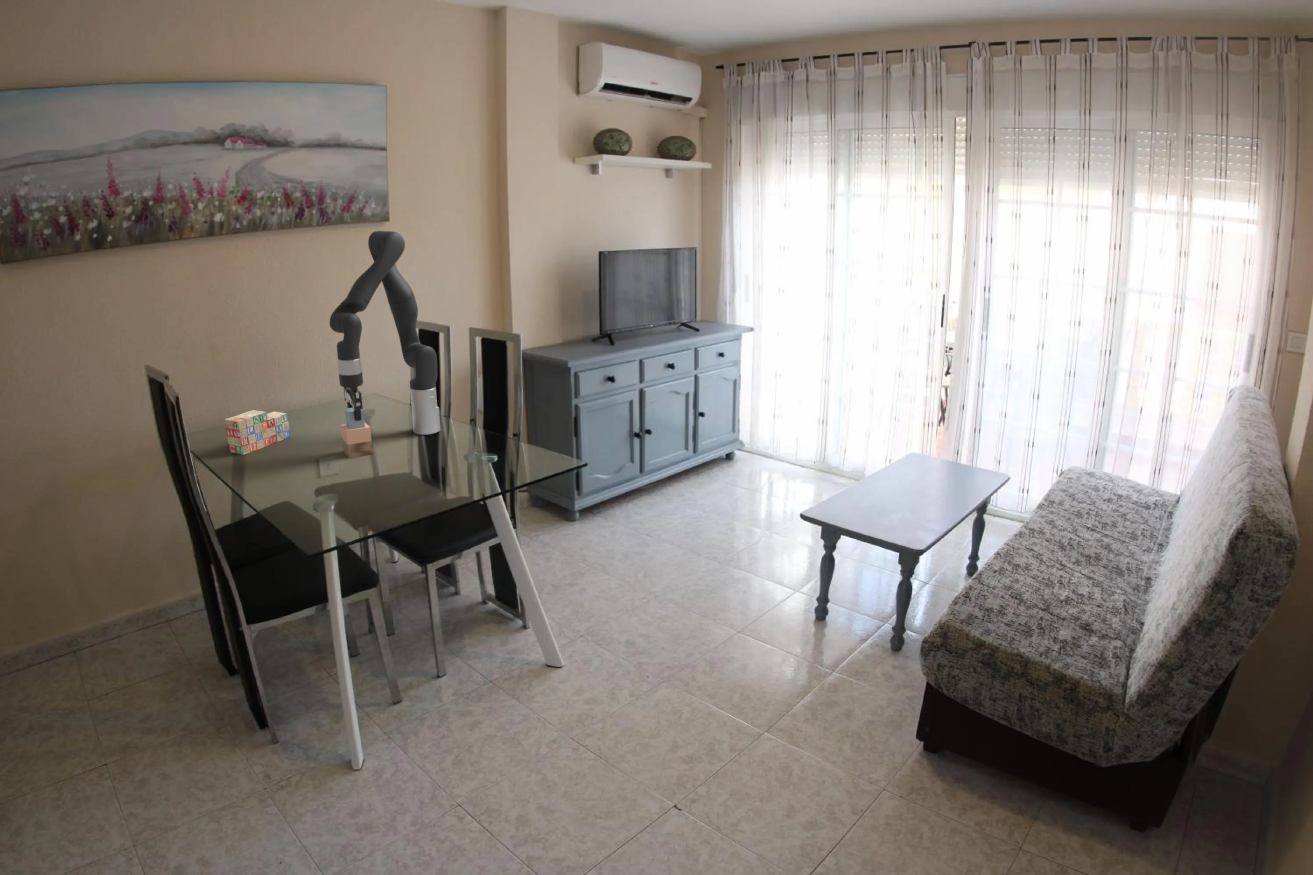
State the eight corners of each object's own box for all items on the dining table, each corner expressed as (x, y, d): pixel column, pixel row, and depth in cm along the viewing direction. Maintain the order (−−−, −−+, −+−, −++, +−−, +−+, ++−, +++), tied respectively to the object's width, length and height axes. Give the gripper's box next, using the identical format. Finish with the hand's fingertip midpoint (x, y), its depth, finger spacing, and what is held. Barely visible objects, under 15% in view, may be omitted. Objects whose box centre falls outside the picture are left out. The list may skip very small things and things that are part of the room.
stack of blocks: (277, 435, 297) (273, 403, 293) (290, 437, 295) (286, 405, 291) (229, 452, 278) (224, 418, 274) (243, 455, 276) (238, 421, 272)
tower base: (366, 448, 286) (365, 434, 284) (373, 454, 280) (372, 440, 278) (343, 451, 282) (342, 438, 280) (349, 458, 275) (348, 444, 274)
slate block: (361, 423, 280) (359, 406, 278) (365, 427, 276) (363, 410, 274) (346, 425, 278) (344, 408, 276) (349, 429, 274) (348, 412, 272)
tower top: (365, 434, 284) (363, 421, 283) (371, 440, 278) (370, 427, 276) (341, 438, 280) (340, 424, 278) (347, 444, 274) (346, 430, 272)
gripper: (367, 374, 268) (371, 421, 273) (356, 366, 279) (360, 410, 284) (344, 377, 264) (348, 424, 269) (333, 368, 275) (338, 413, 280)
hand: (354, 417), depth 276 cm, fingers open, 8 cm apart
